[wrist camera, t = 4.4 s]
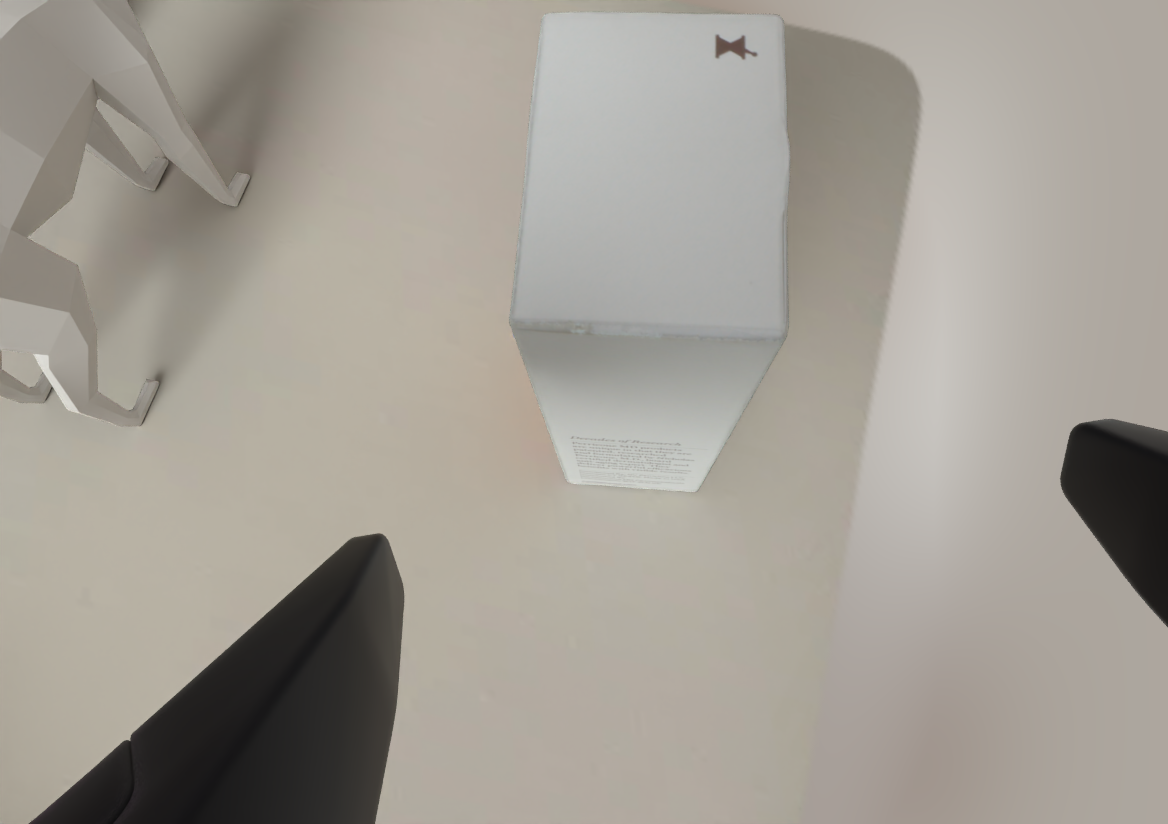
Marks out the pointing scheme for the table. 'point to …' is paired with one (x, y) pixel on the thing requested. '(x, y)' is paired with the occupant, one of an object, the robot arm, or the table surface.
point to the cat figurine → (74, 177)
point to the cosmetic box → (652, 237)
